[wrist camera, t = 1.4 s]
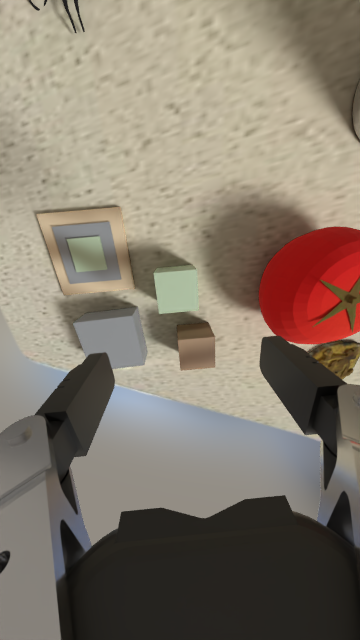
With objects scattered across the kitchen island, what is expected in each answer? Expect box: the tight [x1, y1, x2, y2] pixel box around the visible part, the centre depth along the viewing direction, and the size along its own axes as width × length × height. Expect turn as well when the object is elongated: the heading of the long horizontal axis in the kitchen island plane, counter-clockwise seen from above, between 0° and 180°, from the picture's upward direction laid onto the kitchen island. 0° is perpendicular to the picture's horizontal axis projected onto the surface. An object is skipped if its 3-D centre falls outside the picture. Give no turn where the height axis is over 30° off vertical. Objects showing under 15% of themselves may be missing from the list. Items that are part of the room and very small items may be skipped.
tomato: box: [259, 227, 360, 344], centre depth 22 cm, size 14×13×10 cm
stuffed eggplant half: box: [309, 341, 360, 379], centre depth 32 cm, size 9×5×15 cm
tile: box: [36, 207, 135, 295], centre depth 24 cm, size 10×10×1 cm
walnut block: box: [177, 322, 215, 370], centre depth 27 cm, size 5×5×5 cm
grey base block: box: [73, 307, 148, 369], centre depth 27 cm, size 8×8×4 cm
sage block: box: [154, 265, 199, 314], centre depth 24 cm, size 5×5×5 cm
